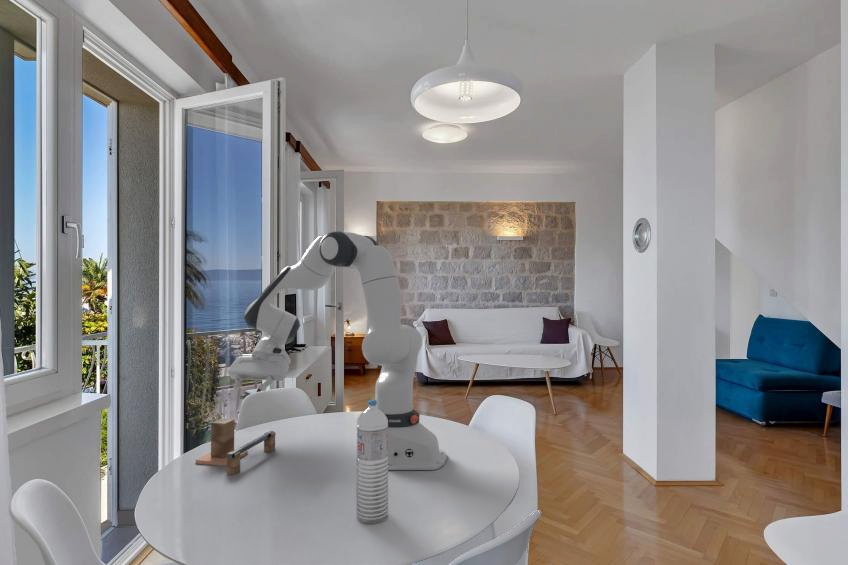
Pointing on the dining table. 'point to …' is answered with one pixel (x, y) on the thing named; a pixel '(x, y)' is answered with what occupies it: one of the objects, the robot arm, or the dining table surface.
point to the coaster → (215, 460)
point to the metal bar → (250, 444)
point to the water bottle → (372, 465)
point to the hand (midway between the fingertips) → (248, 389)
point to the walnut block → (222, 437)
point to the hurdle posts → (234, 463)
